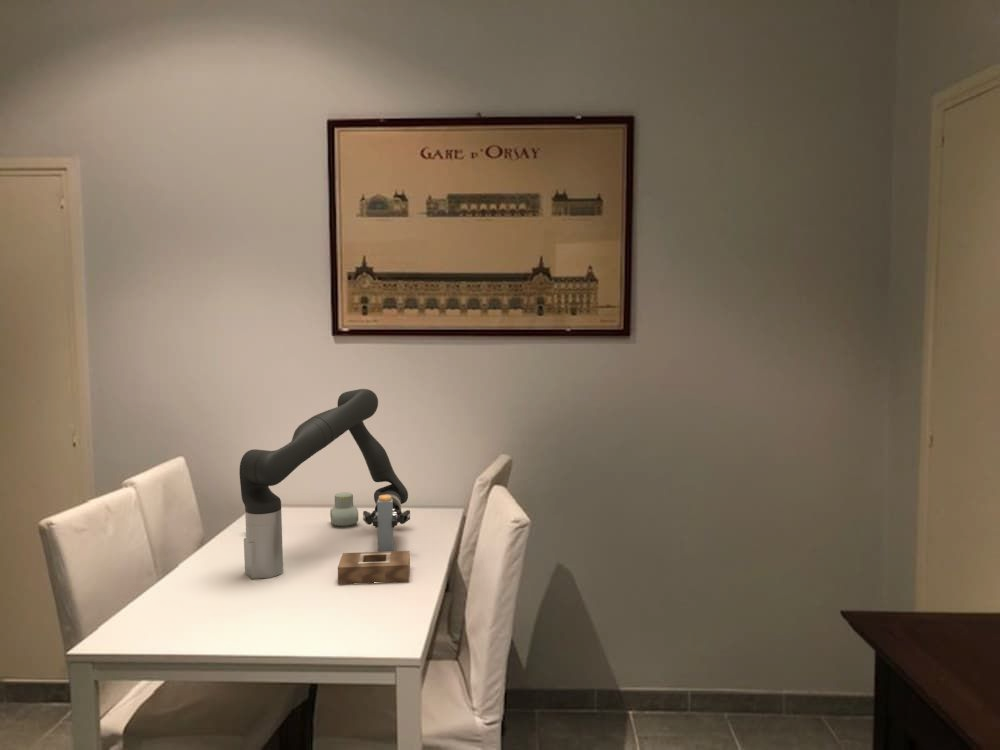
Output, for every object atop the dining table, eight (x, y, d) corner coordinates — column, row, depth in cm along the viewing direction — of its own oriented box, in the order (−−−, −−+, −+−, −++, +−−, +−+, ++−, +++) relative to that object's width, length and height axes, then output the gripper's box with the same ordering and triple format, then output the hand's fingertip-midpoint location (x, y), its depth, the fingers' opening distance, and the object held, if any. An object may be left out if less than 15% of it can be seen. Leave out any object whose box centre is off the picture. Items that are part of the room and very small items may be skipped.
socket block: (338, 584, 205) (337, 566, 204) (343, 569, 217) (342, 552, 216) (408, 582, 206) (408, 564, 206) (409, 566, 218) (409, 550, 218)
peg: (377, 552, 221) (377, 497, 219) (378, 547, 225) (378, 494, 223) (392, 551, 221) (391, 497, 220) (393, 547, 225) (392, 494, 224)
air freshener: (330, 521, 265) (329, 491, 264) (355, 518, 268) (354, 489, 267) (333, 529, 255) (332, 499, 254) (359, 527, 257) (358, 497, 256)
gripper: (363, 496, 235) (358, 511, 218) (412, 495, 237) (410, 510, 220) (363, 521, 236) (358, 538, 219) (412, 520, 237) (410, 537, 220)
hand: (384, 524), depth 219 cm, fingers closed on peg, 4 cm apart
